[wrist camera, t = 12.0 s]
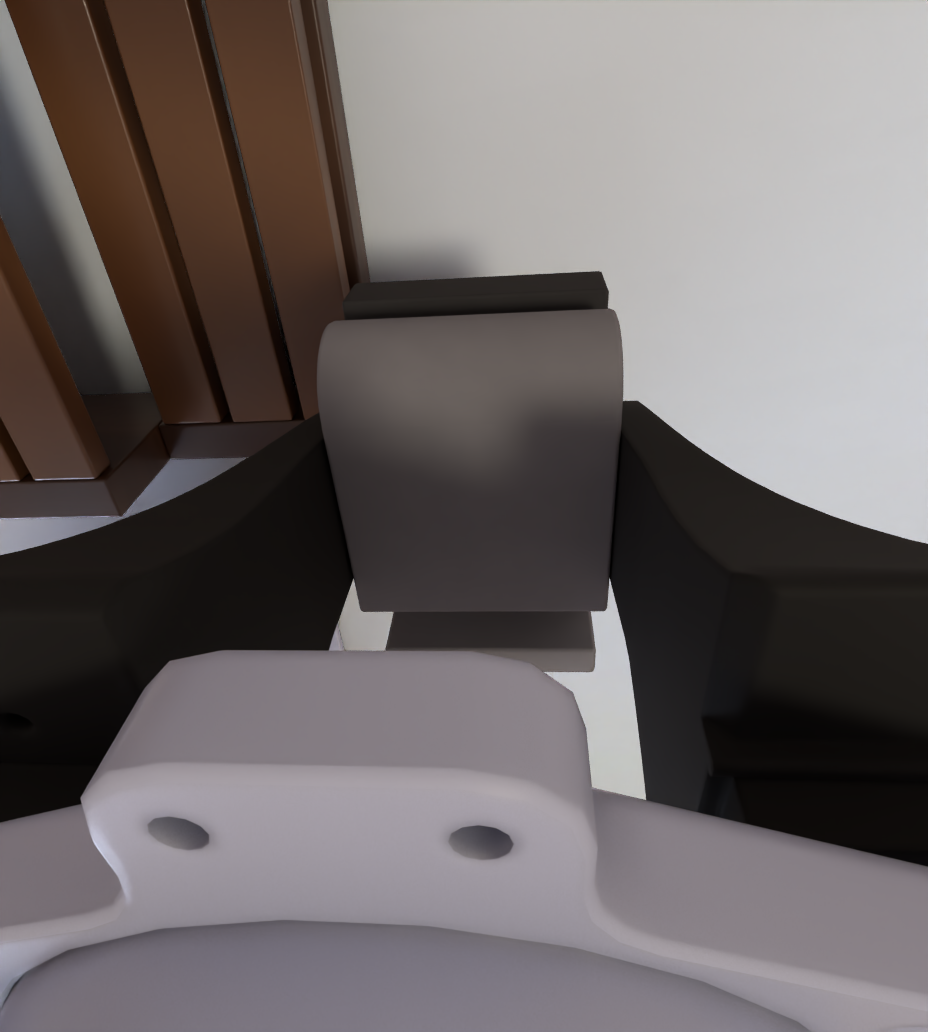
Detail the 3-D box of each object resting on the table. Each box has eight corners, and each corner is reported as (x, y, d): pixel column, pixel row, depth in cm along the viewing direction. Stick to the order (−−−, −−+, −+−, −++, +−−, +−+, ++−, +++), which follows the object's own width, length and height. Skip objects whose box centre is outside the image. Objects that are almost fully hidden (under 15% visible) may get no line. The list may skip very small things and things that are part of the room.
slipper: (585, 596, 16) (599, 713, 13) (403, 597, 16) (380, 709, 13) (602, 270, 11) (628, 340, 9) (353, 282, 12) (303, 353, 9)
